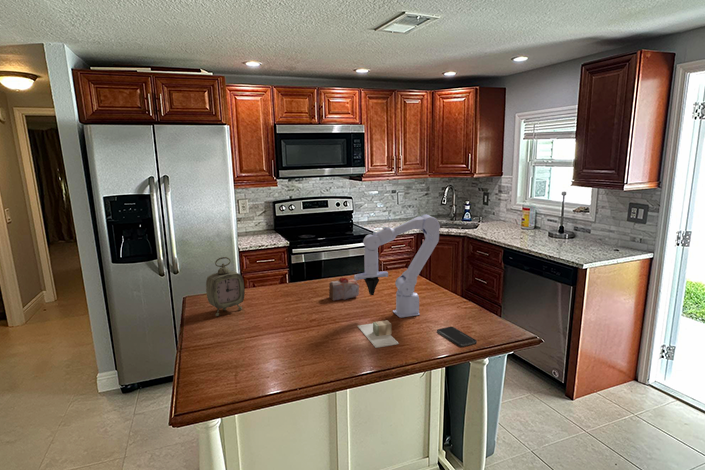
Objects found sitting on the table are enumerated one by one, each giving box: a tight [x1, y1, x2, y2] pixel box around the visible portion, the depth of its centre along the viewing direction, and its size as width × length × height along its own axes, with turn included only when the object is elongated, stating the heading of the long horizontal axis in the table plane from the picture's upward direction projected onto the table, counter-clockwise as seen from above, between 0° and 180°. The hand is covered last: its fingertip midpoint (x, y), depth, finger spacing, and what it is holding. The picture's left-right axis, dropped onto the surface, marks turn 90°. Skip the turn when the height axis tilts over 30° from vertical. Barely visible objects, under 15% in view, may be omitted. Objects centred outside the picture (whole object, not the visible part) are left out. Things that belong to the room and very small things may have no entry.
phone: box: [436, 326, 478, 348], centre depth 153 cm, size 8×1×15 cm
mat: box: [357, 322, 400, 349], centre depth 156 cm, size 9×20×1 cm, turn 18°
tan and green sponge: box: [372, 319, 392, 336], centre depth 156 cm, size 4×4×6 cm
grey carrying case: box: [328, 277, 360, 301], centre depth 198 cm, size 14×8×10 cm, turn 112°
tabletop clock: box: [205, 256, 246, 317], centre depth 180 cm, size 14×9×25 cm, turn 131°
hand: (371, 294), depth 174 cm, fingers closed
